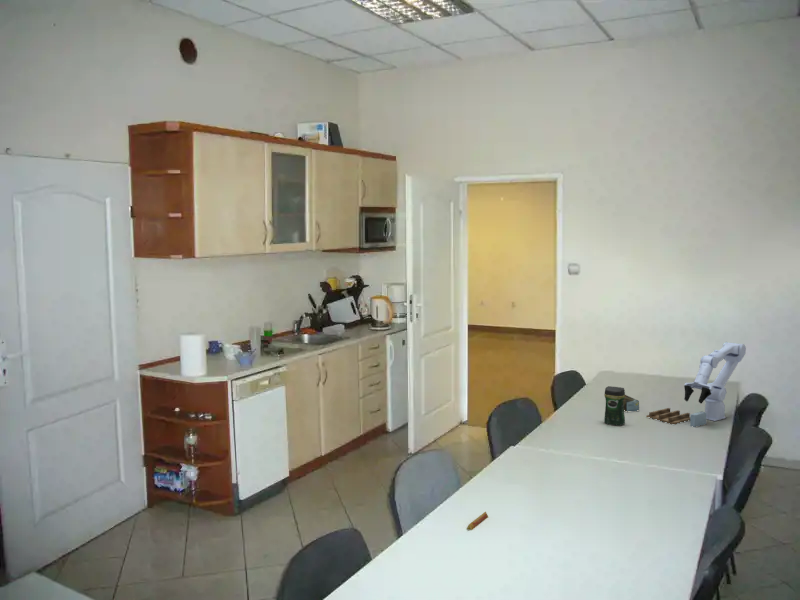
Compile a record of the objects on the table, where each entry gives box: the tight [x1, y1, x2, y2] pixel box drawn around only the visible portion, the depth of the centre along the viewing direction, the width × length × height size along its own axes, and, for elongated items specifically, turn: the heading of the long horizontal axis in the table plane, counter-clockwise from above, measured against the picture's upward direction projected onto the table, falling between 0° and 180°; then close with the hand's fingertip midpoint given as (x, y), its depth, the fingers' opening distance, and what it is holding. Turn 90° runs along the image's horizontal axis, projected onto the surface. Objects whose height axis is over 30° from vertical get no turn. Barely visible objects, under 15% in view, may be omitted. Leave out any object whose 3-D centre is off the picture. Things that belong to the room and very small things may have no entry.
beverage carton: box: [624, 394, 640, 412], centre depth 370 cm, size 8×19×7 cm, turn 15°
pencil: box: [466, 511, 489, 531], centre depth 230 cm, size 3×12×2 cm, turn 146°
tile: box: [689, 410, 707, 428], centre depth 336 cm, size 9×2×6 cm, turn 122°
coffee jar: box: [603, 385, 626, 426], centre depth 340 cm, size 10×8×19 cm
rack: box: [645, 407, 691, 425], centre depth 347 cm, size 15×16×3 cm
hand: (692, 401), depth 333 cm, fingers open, 7 cm apart
